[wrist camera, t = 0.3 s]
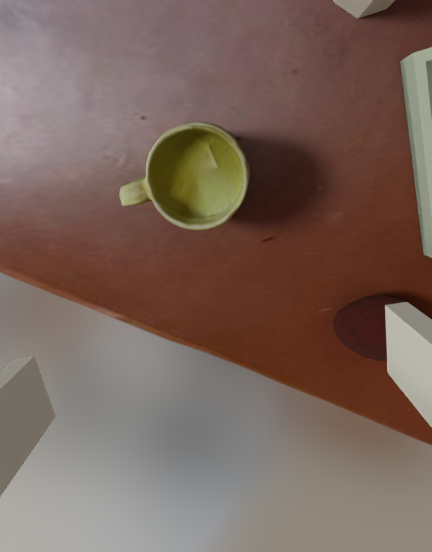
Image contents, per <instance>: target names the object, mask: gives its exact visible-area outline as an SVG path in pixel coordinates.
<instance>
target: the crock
mask: <svg viewBox="0 0 432 552" xmlns="http://www.w3.org/2000/svg"><path fill="white" fill-rule="evenodd" d="M394 1H395V0H333V2H334V3H335V4H337V5H338V6H340V7H341V8H343V9H344V10H346V11H347V12H349V13H350V14H352V15H353V16H354V17H356V18H361V17H364V16H367V15H370V14H373V13H376V12H379V11H383V10H386V9H387V8H388V7H389V6H390V5H391V4H392V3H393V2H394Z"/></svg>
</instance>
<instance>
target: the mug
mask: <svg viewBox="0 0 432 552" xmlns="http://www.w3.org/2000/svg"><path fill="white" fill-rule="evenodd" d="M249 178H250V168H249V164H248V161H247V159H246V156H245V153H244V151H243V149H242V147H241V145H240V144H239V142H238V141H237V139H236V138H235V137H234V136H233V135H232V134H231V133H229V132H228V131H226V130H225V129H223V128H222V127H220V126H218V125H215V124H211V123H206V122H188V123H184V124H181V125H178V126H176V127H173V128H171V129H170V130H168V131H167V132H165V133H164V134H163V135H162V136H161V137H160V138H159V139H158V140H157V142H156V143H155V144H154V146H153V148H152V149H151V151H150V153H149V156H148V159H147V163H146V177H142V178H139V179H136V180H134V181H132V182H129V183H125V184H123V185H122V187H121V188H120V199H121V203H122V205H123V206H130V205H138V204H143V203H145V202H147V201H153V203H154V205H155V207H156V209H157V210H158V211H159V212H160V214H161V215H162V216H163V217H164V218H166V219H167V220H168V221H169V222H171V223H172V224H174V225H176V226H178V227H181V228H184V229H186V230H194V231H204V230H210V229H214V228H217V227H219V226H221V225H223V224H225V223H226V222H227V221H228V220H229V219H230V218H231V217H232V216H233V215H234V213H235V212H236V211H237V210H238V209H239V207H240V205H241V204H242V202H243V200H244V197H245V195H246V192H247V189H248V184H249Z"/></svg>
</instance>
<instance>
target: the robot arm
mask: <svg viewBox="0 0 432 552" xmlns="http://www.w3.org/2000/svg"><path fill="white" fill-rule="evenodd" d="M385 318H386V345H387V372H388V374H389V375H390V376H391V378H392V379H393V380H394V381H395V383H396V384H397V385H398V386H399V388H400V389H401V390H402V391H403V392H404V394H405V395H406V396H407V397H408V399H409V400H410V401H411V402H412V404H413V405H414V406H415V407H416V409H417V410H418V411H419V412H420V414H421V415H422V416H423V417H424V419H425V420H426V421H427V422H428V424H429V425H430V426H431V427H432V319H430V318H429V317H427V316H426V315H425V314H423V313H422V312H420V311H419V310H418V309H416V308H415V307H414V306H412V305H411V304H409V303H408V302H403V303H396V304H389V305H385ZM54 418H55V414H54V411H53V408H52V405H51V402H50V400H49V396H48V394H47V391H46V388H45V385H44V382H43V380H42V377H41V374H40V371H39V368H38V366H37V363H36V360H35V357H34V356H32V357H25V358H18V359H15V360H13V361H12V362H11V363H10V364H9V365H8V366H7V367H6V368H5V369H4V370H2V371H1V372H0V496H1V495H2V493H3V492H4V490H5V489H6V488H7V486H8V485H9V483H10V482H11V480H12V479H13V477H14V476H15V475H16V473H17V472H18V470H19V469H20V467H21V466H22V464H23V463H24V461H25V460H26V459H27V457H28V456H29V454H30V453H31V451H32V450H33V448H34V447H35V445H36V444H37V443H38V441H39V440H40V438H41V437H42V435H43V434H44V432H45V431H46V430H47V428H48V427H49V425H50V424H51V422H52V420H53V419H54Z"/></svg>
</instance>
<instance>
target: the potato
mask: <svg viewBox="0 0 432 552" xmlns="http://www.w3.org/2000/svg"><path fill="white" fill-rule="evenodd" d="M403 302H406V301H404V300H402V299H400V298H398V297H392V296H387V295H377V296H370V297H364V298H362V299H359V300H357V301H354V302H352V303H349V304H348V305H347V306H345V307H344V308H343V309H341V310H340V311H339V312H338V313H337V314H336V316H335V318H334V320H333V325H334V331H335V333H336V335H337V336H338V337H339V339H340V340H341V342H342V343H343V344H344V345H345V346H346V347H348V348H350V349H351V350H353V351H354V352H356V353H358V354H359V355H361V356H363V357H366V358H370V359H374V360H377V361H387V345H386V318H385V305H389V304H396V303H403Z"/></svg>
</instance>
